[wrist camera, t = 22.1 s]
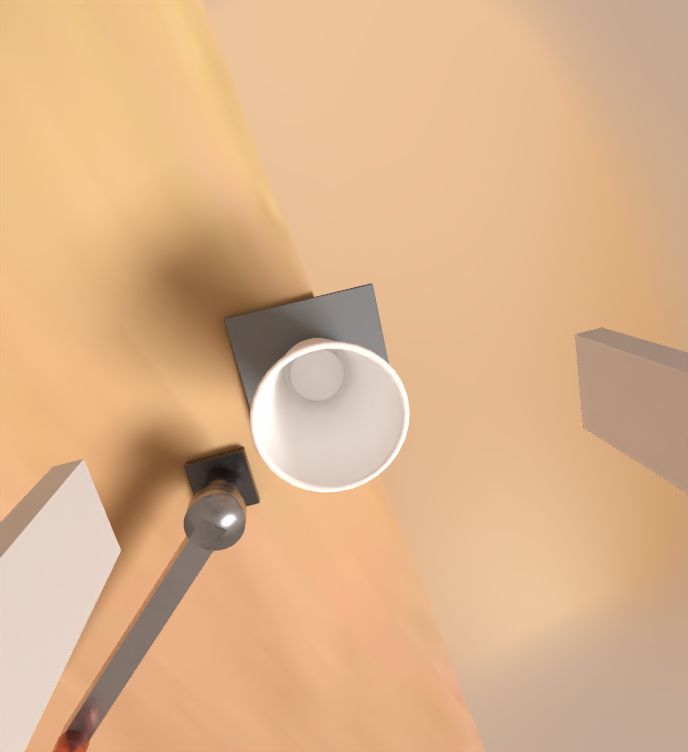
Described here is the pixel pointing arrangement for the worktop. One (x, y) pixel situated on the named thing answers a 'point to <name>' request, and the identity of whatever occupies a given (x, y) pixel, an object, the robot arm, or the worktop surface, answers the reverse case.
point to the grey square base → (224, 474)
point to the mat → (303, 330)
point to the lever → (158, 606)
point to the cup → (329, 415)
